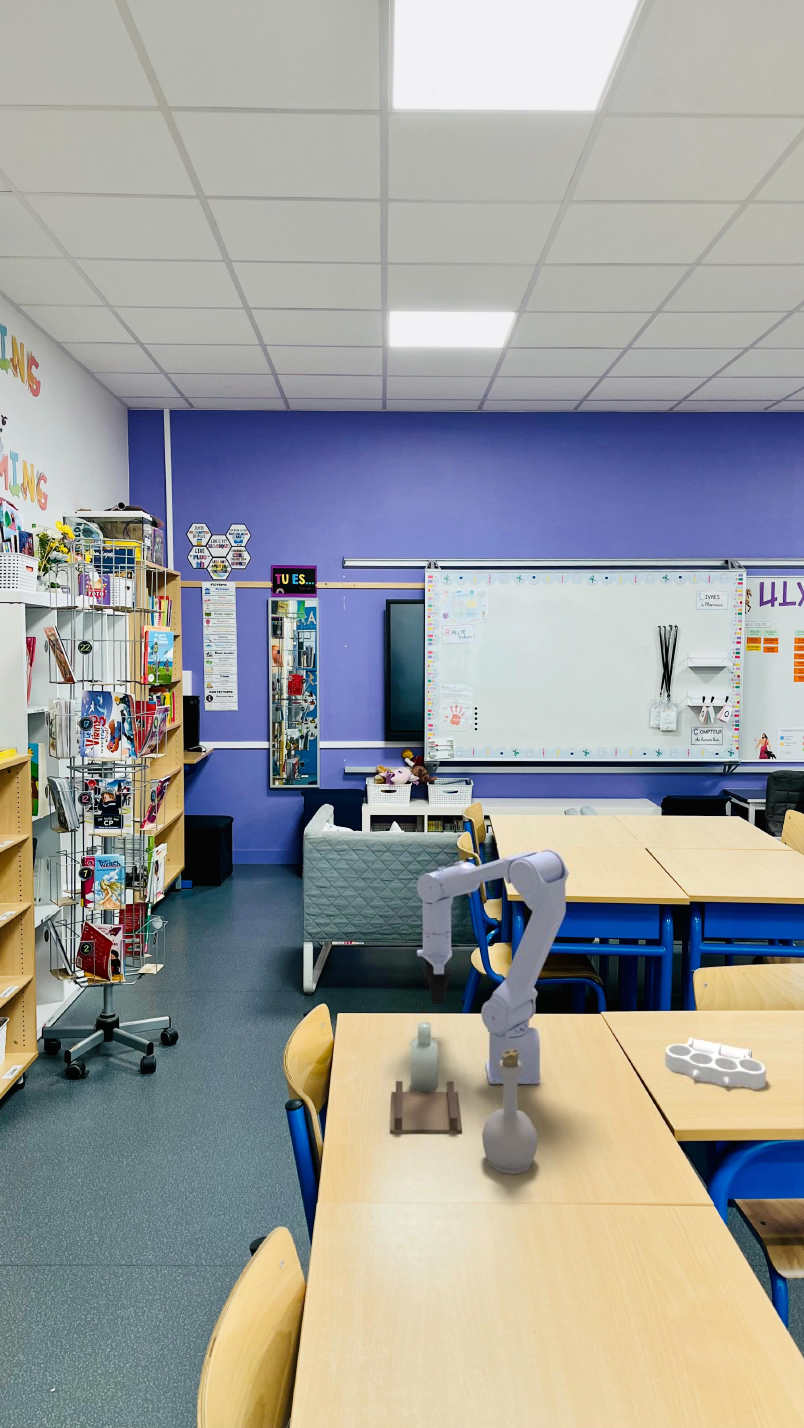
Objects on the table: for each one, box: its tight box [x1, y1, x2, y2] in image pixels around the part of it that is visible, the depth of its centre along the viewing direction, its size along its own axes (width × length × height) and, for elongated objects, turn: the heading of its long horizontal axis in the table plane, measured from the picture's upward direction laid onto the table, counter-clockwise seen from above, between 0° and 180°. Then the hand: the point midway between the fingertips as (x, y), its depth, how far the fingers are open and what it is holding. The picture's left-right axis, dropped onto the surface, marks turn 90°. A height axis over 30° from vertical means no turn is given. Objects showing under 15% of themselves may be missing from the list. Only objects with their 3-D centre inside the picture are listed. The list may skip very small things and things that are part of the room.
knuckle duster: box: [664, 1037, 767, 1090], centre depth 160 cm, size 3×18×15 cm
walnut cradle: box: [389, 1080, 463, 1134], centre depth 145 cm, size 12×12×3 cm
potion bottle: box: [481, 1049, 539, 1175], centre depth 131 cm, size 9×9×18 cm
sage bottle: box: [410, 1021, 439, 1092], centre depth 154 cm, size 5×5×12 cm
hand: (436, 995), depth 170 cm, fingers open, 7 cm apart
